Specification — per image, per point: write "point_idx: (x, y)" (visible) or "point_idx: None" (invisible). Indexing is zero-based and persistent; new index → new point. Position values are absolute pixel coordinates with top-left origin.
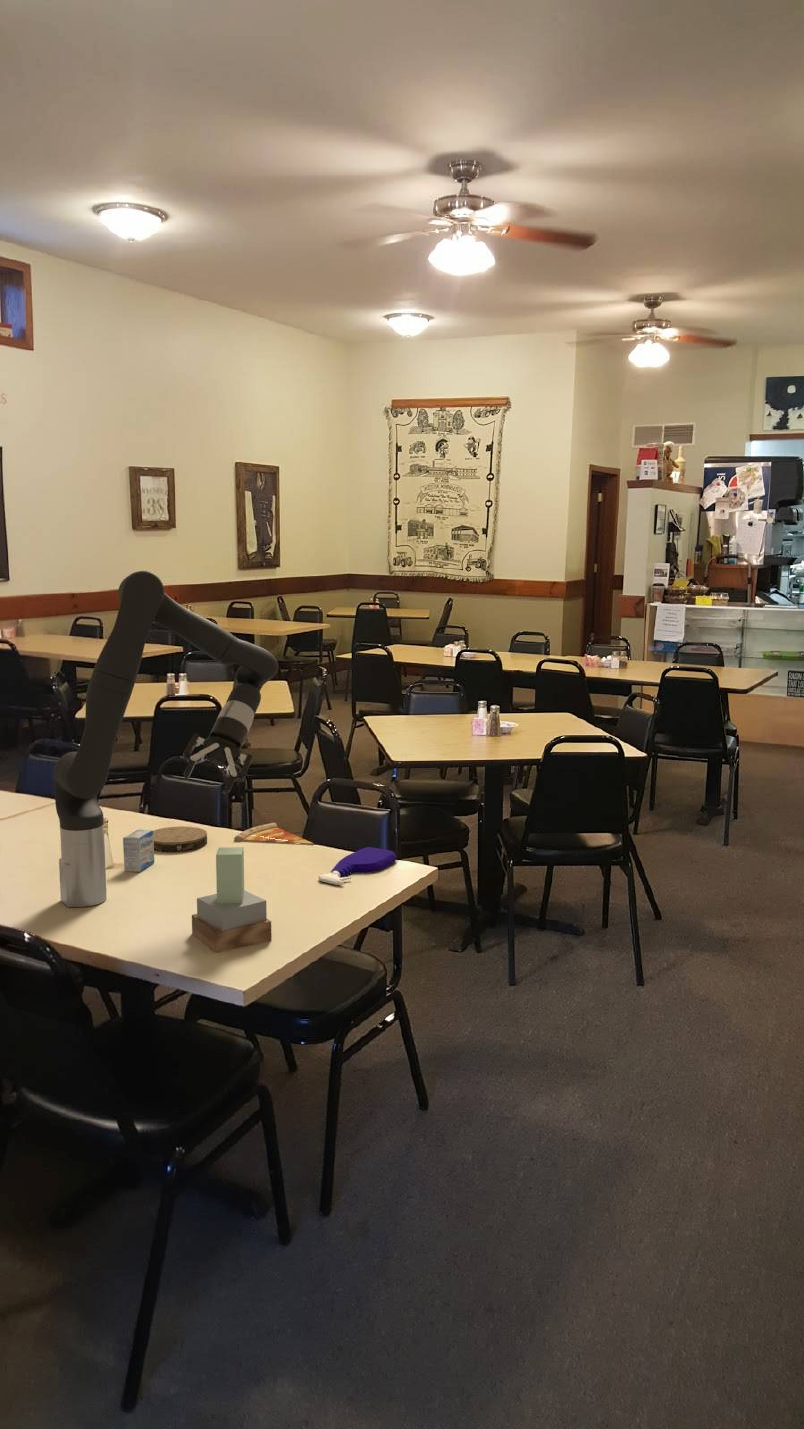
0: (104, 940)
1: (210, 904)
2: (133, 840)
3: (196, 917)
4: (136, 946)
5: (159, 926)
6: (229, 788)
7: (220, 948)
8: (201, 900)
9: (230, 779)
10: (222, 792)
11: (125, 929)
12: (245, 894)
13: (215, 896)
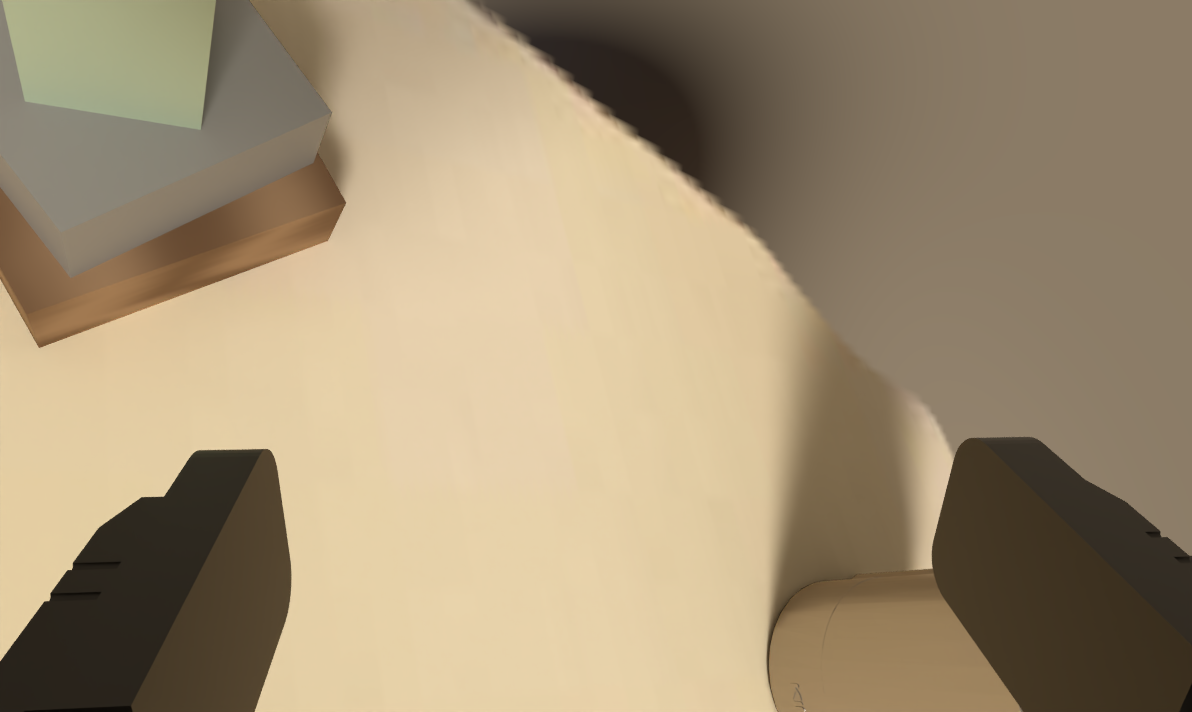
0: (640, 232)
1: (244, 2)
2: None
3: (317, 162)
4: (522, 154)
5: (483, 344)
6: (130, 520)
7: None
8: (301, 73)
9: (94, 626)
10: (282, 530)
11: (602, 327)
12: (16, 104)
13: (225, 116)
